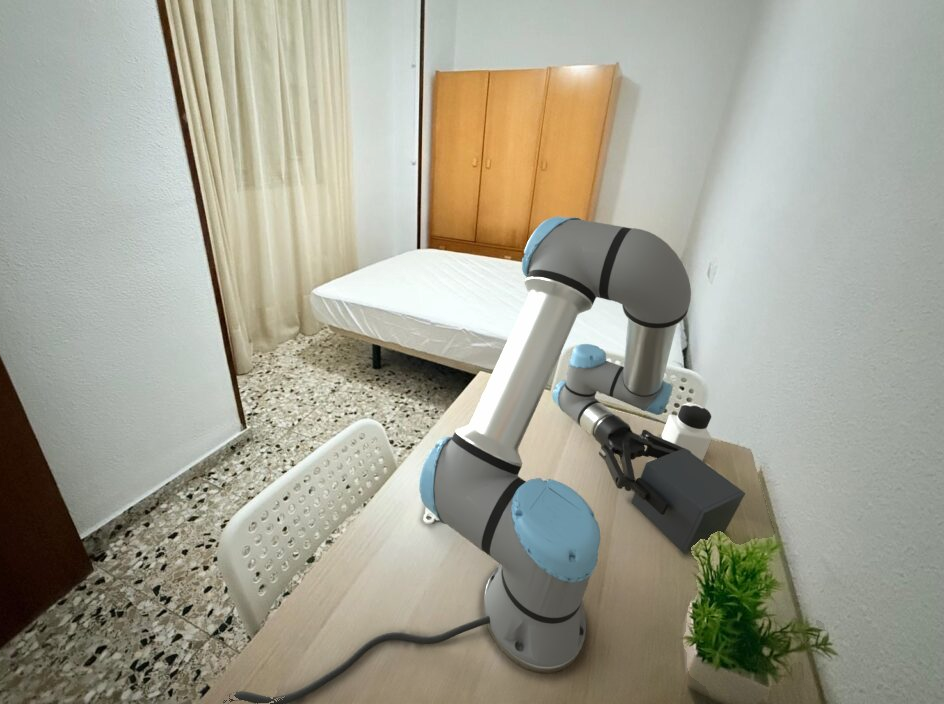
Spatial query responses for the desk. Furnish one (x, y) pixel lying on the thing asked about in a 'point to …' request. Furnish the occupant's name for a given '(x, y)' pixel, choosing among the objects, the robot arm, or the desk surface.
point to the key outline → (429, 513)
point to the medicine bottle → (689, 429)
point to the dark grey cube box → (688, 498)
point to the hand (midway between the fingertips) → (690, 498)
